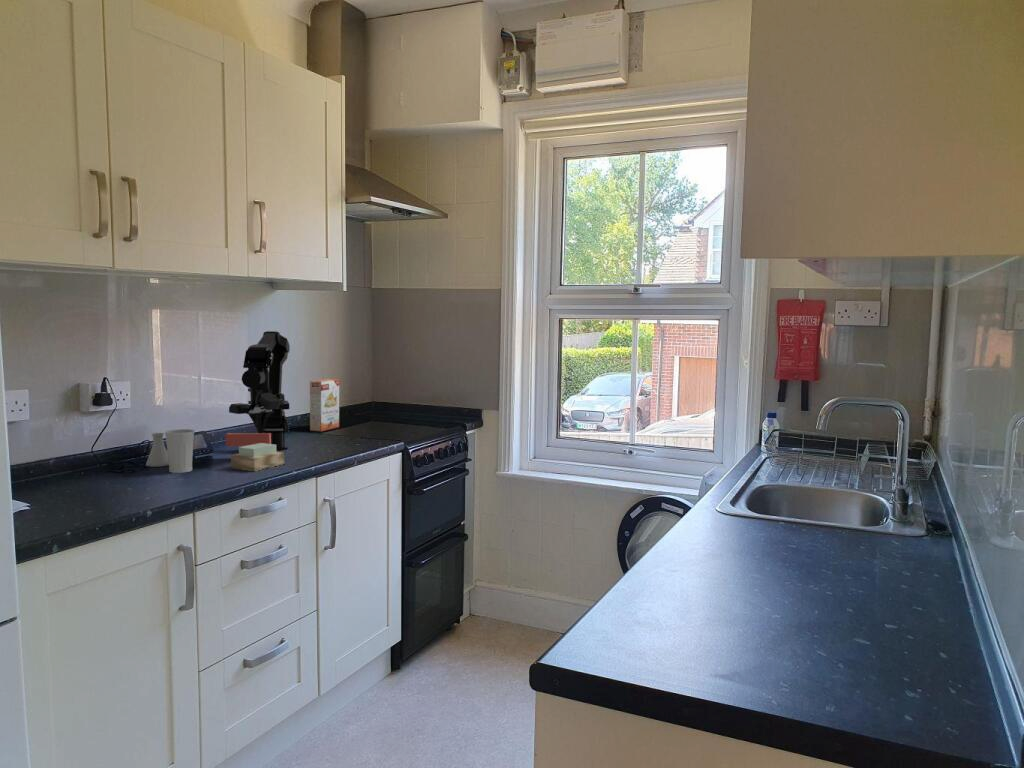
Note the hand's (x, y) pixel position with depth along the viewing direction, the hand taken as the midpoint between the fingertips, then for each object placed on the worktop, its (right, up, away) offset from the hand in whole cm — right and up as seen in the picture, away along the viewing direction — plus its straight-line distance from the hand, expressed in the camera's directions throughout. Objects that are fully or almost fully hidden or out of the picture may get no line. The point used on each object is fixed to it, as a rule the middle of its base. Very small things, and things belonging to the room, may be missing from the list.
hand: (260, 433), depth 229 cm
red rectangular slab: (-5, -9, +4) cm, 11 cm away
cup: (-18, -10, -16) cm, 27 cm away
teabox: (+3, -10, -9) cm, 14 cm away
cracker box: (+3, -3, +68) cm, 68 cm away
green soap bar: (+3, -6, -10) cm, 12 cm away
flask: (-29, -10, -9) cm, 31 cm away
